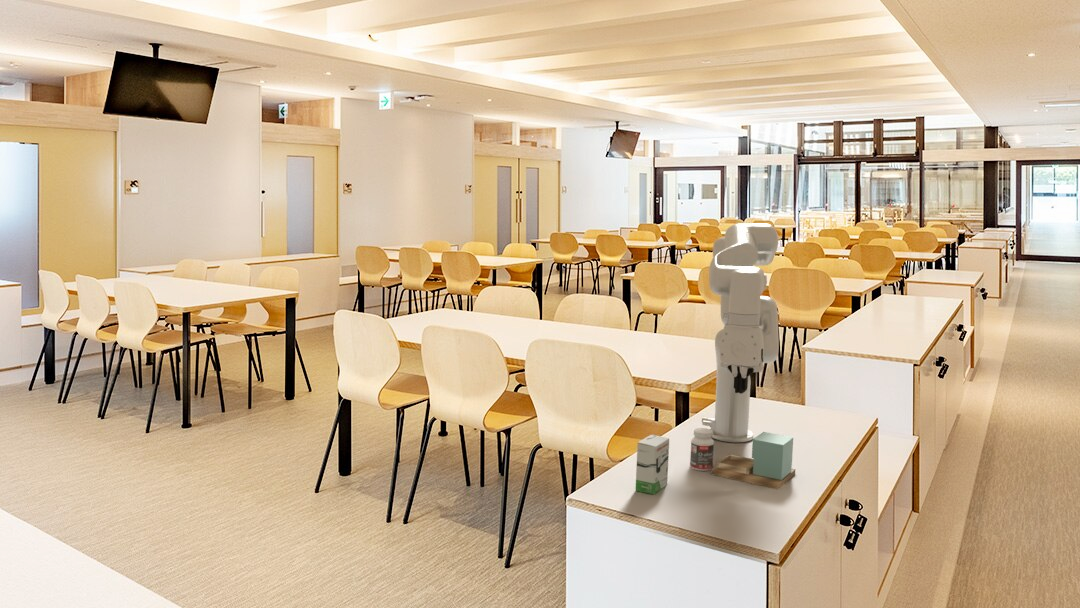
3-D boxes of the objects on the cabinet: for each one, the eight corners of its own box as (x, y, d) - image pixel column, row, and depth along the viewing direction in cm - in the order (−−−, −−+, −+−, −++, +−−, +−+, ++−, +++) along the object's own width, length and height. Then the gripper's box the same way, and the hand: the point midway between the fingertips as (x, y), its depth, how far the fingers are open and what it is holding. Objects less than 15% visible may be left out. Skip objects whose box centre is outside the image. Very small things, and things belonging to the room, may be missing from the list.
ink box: (653, 495, 194) (655, 446, 192) (634, 490, 197) (636, 442, 195) (668, 484, 201) (670, 436, 200) (649, 480, 204) (651, 433, 202)
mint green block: (750, 473, 205) (752, 439, 204) (761, 465, 212) (763, 431, 210) (781, 480, 201) (783, 445, 200) (791, 471, 207) (793, 437, 206)
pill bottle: (699, 473, 209) (701, 435, 208) (685, 466, 214) (686, 428, 213) (717, 469, 212) (719, 432, 211) (703, 462, 217) (704, 426, 216)
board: (711, 474, 209) (712, 456, 208) (730, 460, 219) (731, 443, 218) (778, 489, 199) (779, 470, 198) (795, 473, 210) (796, 455, 209)
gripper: (709, 318, 207) (706, 390, 209) (768, 325, 199) (764, 399, 201) (721, 315, 213) (717, 385, 216) (778, 321, 205) (774, 393, 207)
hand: (740, 392), depth 208 cm, fingers closed
